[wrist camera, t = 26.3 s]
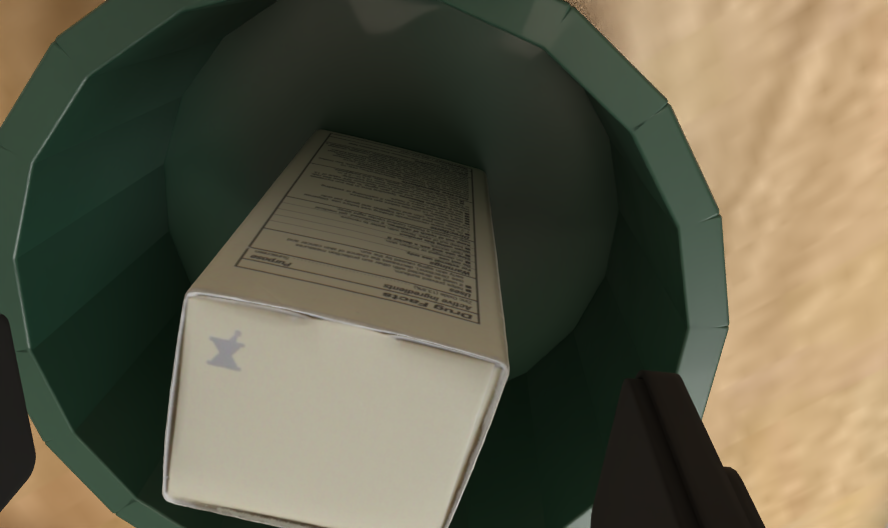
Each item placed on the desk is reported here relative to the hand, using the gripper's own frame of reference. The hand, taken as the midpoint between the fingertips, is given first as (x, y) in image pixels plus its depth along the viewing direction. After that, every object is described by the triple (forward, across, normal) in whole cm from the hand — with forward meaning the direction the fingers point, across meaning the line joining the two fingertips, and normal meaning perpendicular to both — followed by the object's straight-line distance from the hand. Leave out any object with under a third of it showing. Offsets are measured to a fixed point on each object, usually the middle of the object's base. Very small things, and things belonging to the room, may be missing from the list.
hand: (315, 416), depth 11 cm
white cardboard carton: (+10, 0, +1) cm, 10 cm away
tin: (+11, 0, +1) cm, 11 cm away
